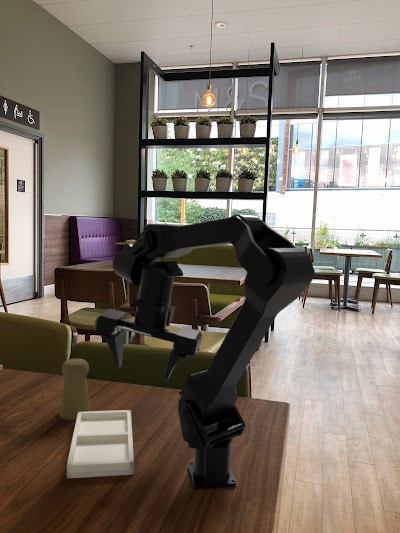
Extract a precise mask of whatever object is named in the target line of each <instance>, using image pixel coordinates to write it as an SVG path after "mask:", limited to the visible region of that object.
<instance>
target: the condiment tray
mask: <svg viewBox="0 0 400 533" xmlns="http://www.w3.org/2000/svg"><path fill="white" fill-rule="evenodd" d="M132 426H133V425H132V410H131V409H125V410H119V409H118V410H95V411H92V410H90V412H78V415H77V420H75V425H74V430H73V434H72V439H71V444H70V447H69V448H70V449H69V454H68V457H67V463H66V479H79V478H80V479H81V478H95V477H113V476H131V475H134V469H135V465H134V464H135V461H134V460H135V459H134V445H133V444H134V443H133V427H132Z"/></svg>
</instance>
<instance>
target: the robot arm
mask: <svg viewBox="0 0 400 533" xmlns="http://www.w3.org/2000/svg"><path fill="white" fill-rule="evenodd" d="M142 229H143V231H141V233H140V234H139V235H138V237H137V238H136V240H135V241H134V242H125V243H124V246H123V248H122V249H121V250H120V251H119V252H117V254H116V255H115V257H114V259H113V260H112V270H113V272H114V273H115V274H116V275H117V276H118V277H120V278H123V279H124V280H126V281H128V282H129V283H131V284H133V285H135V286H138V287H139V288H138V293H137V294H138V295H137V299H136V300H135V303H134V307H136V308H135V314H134V320H131V319H128V313H127V312H125V311H121V310H117V309H114V308H113V309H112V308H108V309H107V310H105V311H103V313H101V314H100V315H98V316H97V317H96V319H95V322H94V329H93V330H94V331H95V332H96V333H99V334H100V338H103V339H104V340H105V341H106V344H107V347H108V348H109V350H110V352H111V355H112V358H113V361H114V363H115V366H116V369H118V370H119V369H121V367H122V365H123V364H122V363H123V357H124V347H125V346H124V343H125V336H126V332H131V333H134V334H137V335H138V334H139V335H142V336H147V337H151V338H155V339H159V340H162V341H166V342H171V343H172V344H173V345H172V350H171V351H170V353H169V358H168V362H167V366H166V369H165V372H164V379H163V380H164V382H167V381H168V380H169V378H170V377H171V374H172V372H173V370H174V368H175V367H176V365H177V364H178V362H179V361H180V359H187V358H188V356H190V357H194V356H196V354H197V352H198V350H199V349H200V347H201V345H202V339H203V334H202V332H201V330H198V329H194V328H189V327H185V326H181V327H180V329H179V330H178V331H175V330H170V329H166V328H167V327H170V325H171V323H172V322H173V318H174V314H175V310H176V306H173V305H171V304H172V292H173V287H174V282H175V281H174V279H175V277H176V278H178V277H179V278H180V277H183V276H184V272H183V270H182V268H181V267H180V266H179V265H178V262H177V261H176V260H175V261H173V260H172V261H169V260H168V261H165V260H163V259H164V258H165V259H167V258H180V257H182V256H185V255H188V254H190V253H191V252H192V251H193V250H196V249H200V248H201V249H202V248H210V247H216V246H217V247H218V246H227V245H228V246H229V245H232V246H233V248H234V251H235V255H236V260H237V262H238V263H239V264H240V266H241V267H242V268H243V269H244V270H245V272H246V274H245V277H244V280H243V284H244V286H243V288H244V301H243V303H242V304H241V307H240V308H239V310H238V312H237V314H236V315H235V318H234V320H233V322H232V323H231V326H230V327H229V329H228V331H227V333H226V335H225V337H224V339H223V340H222V342H221V344H220V346H219V348H218V349H217V351H216V354H215V356H214V357H213V359H212V360H211V362H210V365H209V367H208V369H207V370H204V371H203V370H202V371H200V372H196V373H192V374H189V375H188V376H187V378H186V379H185V383H184V385H183V387H182V389H181V390H180V391H178V395H180V397H179V400H178V402H177V409H178V410H177V412H178V419H179V424H180V429H181V433H182V439H183V441H184V442H186V443H187V444H188V448H190V449H194V450H193V461H190V462H188V463H187V467H188V470H189V473H190V477H191V482H192V485H193V487H194V488H195V489H204V488H219V487H232V486H233V487H234V486H237V480H236V477H235V475H234V472H233V470H232V468H231V458H232V457H231V456H232V440H233V439H235V438H237V437H240V436H243V433H244V431H245V430H246V429H245V428H246V426H247V425H246V422H245V420H244V419H243V416H242V415H241V413H240V411H239V410H238V408H237V406H236V402H237V400H238V393H237V384H238V382H239V380H240V379H241V377H242V375H243V373H244V372H245V370H246V369H247V367H248V365H249V364H250V361H251V360H252V358H253V356H254V355H255V354H256V351H257V350H258V348H259V347H260V345H261V343H262V341H263V339H264V338H265V336H266V335H267V333H268V331H269V330H270V328H271V326H272V325H273V322H274V321H275V319H276V318H277V315H278V314H280V312H281V311H283V310H284V309H285V308H287V307H288V306H289V305H290V304H292V303H293V302H295V301H296V300H297V299H298V298H299V297H300V296H301V295H302V293H303V292H304V291H306V289H307V288H308V287H309V286H310V285H311V283H312V281H313V279H314V277H315V272H316V271H315V269H314V263H313V260H312V258H311V257H310V255H309V254H308V253H307V252H306V251H305V250H304V249H302V248H298V247H296V245H294V244H293V242H292V241H290V240H289V239H287V237H284V236H283V235H281V234H280V233H279V232H277V231H275V230H273V229H272V228H271V227H270V226H269V225H268V224H267V223H266V222H265V221H264V220H263V219H262V218H260V217H259V216H257V215H250V214H233V215H231V216H230V217H225V218H219V219H212V220H206V221H201V222H196V223H190V224H183V225H182V224H166V223H164V224H163V223H147V224H146V225H144V227H142ZM217 422H219V423H217Z"/></svg>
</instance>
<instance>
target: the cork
mask: <svg viewBox="0 0 400 533" xmlns="http://www.w3.org/2000/svg"><path fill="white" fill-rule="evenodd" d="M89 365H90V364H89V363H88V361H87V360H85V359H83V358H71V359H67V360H65V361H64V362H63V364H62V366H61V374H62V376H63V377H64V378H63V385H62V392H61V400H60V406H59V407H60V408H59V413H58V416H59V417H60V419H64V420H69V421H76V420H77V415H78V412H90V411H91V408H90V401H89V392H88V383H87V375H88V374H89V370H90V366H89Z"/></svg>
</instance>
